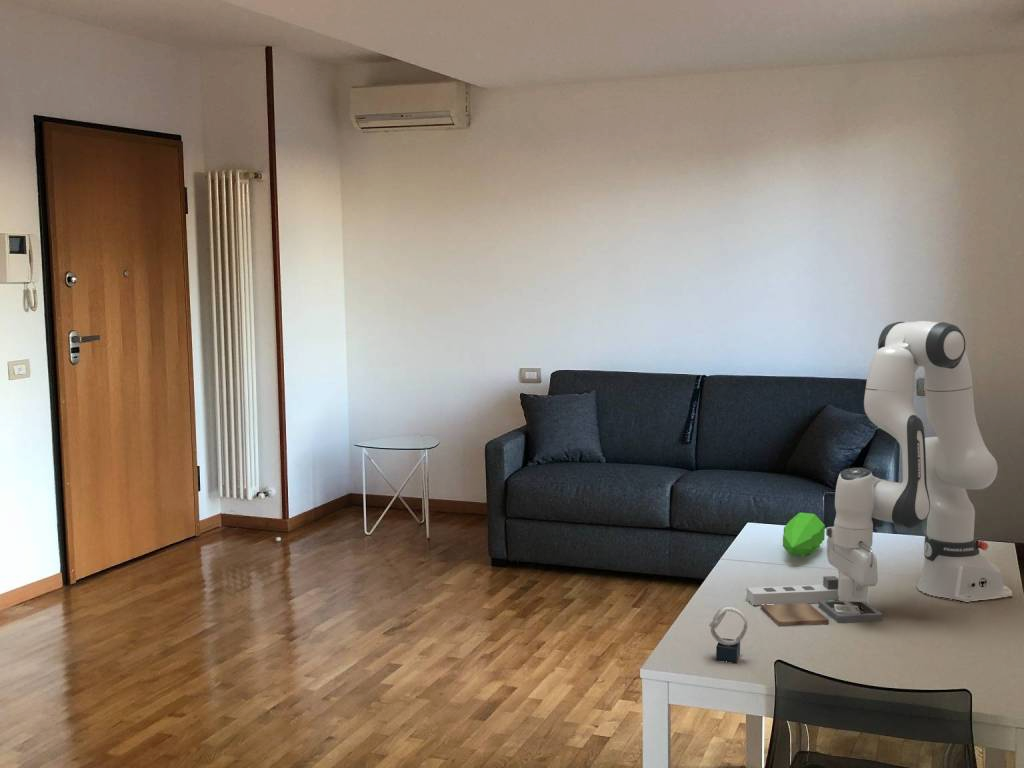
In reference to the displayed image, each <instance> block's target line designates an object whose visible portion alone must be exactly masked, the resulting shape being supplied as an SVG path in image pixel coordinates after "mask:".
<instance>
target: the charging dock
mask: <svg viewBox="0 0 1024 768" xmlns="http://www.w3.org/2000/svg"><path fill="white" fill-rule="evenodd" d="M850 602H851V601H850ZM834 604H839V605H846V604H845V603H844V602H843V601H842V602H840V599H839V600H837V601H834V600H829V601H819V603H818V608H819V609H820V610H822V612H823V613H825V614H827V615H828V616H829V617H830V618H832V619H833V620H834V621H835V622H836V623H856V622H857V621H863V622H879V620H882V621H884V620H883V617H884V616H883V615H884V614H883V613H881V611H878V610H877V609H876V608H875V607H873V606H872V605H870V604H869V602H867V603H865V602H851V604H852V605H855V606H860V607H862V608H863V609H864V610H863V609H862V608H861V609H862V610H863V611H864V612H866V613H860V614H848V615H840V614H839V613H837V612H836V611H835V610H834ZM860 607H859V608H860ZM867 612H868V613H867ZM857 623H858V622H857Z"/></svg>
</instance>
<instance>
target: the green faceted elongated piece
mask: <svg viewBox="0 0 1024 768" xmlns="http://www.w3.org/2000/svg"><path fill="white" fill-rule="evenodd" d="M825 535H826V524H825V523H823V522H822V520H821V519H820V518H819V517H818V516H817V515H816V514H815V513H809V512H799V513H797V514H796V515H795V516H794V517H793V518H790V520H789V521H788V522H787V523H786V525H784V527H783V535H782V547H783V548H784V550H785V551H786V552H787V553H788V555H790V556H794V557H801V558H803V557H805V556H810V555H811V554H813V553H814V552H815V551H816V550H817V549H819V548H820V547H821V544H822V543H823V542H824V541H825Z"/></svg>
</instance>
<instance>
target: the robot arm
mask: <svg viewBox="0 0 1024 768" xmlns="http://www.w3.org/2000/svg"><path fill="white" fill-rule="evenodd" d="M966 346H967V345H966V339H965V336H964V333H963V332H962V330H961V328H960V327H958V326H957V325H955V324H952V323H949V322H945V321H943V322H942V321H941V322H937V321H929V320H918V321H906V322H905V321H896V322H893V323H890V324H887V325H886V326H885V327H884V328H883V329H882V330H881V332H880V334H879V337H878V343H877V350H876V351H875V352H874V354H873V356H872V360H871V362H870V366H869V369H868V374H867V378H866V384H865V389H864V390H865V391H864V397H863V398H864V399H863V408H864V409H863V410H864V413H865V414H866V416H867V418H868V419H869V420H870V422H872V424H874V425H875V426H876V427H877V428H879V429H880V430H883V431H884V432H886V433H888V434H889V435H890V436H892V437H893V438H894V439H895V440H896V441H897V443H898V444H899V446H900V448H901V459H902V460H901V461H902V463H901V465H902V482H896V481H892V480H887V479H884V478H883V479H882V478H880V477H876V476H874V475H873V473H872V471H871V470H869V469H868V468H863V467H848V468H846V469H844V470H842V471H840V472H839V474H838V476H837V477H838V478H837V481H836V486H835V493H834V509H835V512H836V513H835V519H834V522H833V526H828V527H825V535H826V537H827V538H826V539H827V540H826V558H827V561H828V563H829V564H830V565H831V566H833V567H834V568H835V569H837V573H838V574H837V575H839V570H840V571H842V572H843V573H845V574H846V575H847V576H849V577H850V578H851V579H853V580H854V584H855V587H854V590H853V597H854V598H856V599H857V598H861V597H862V591H863V589H864V587H865V586H868V587H876V586H877V584H878V580H879V579H878V571H879V570H878V559H877V556H876V554H875V553H874V552H873V550H872V546H873V537H874V535H873V533H874V531H873V529H874V523H873V520H872V519H876V520H878V521H884V522H887V523H892V524H895V525H898V526H900V527H903V528H907V529H913V528H914V527H917V526H919V525H920V524H922V523H923V522H924V521H927V522H926V534H925V535H924V541H923V543H924V545H923V553H924V554H923V555H924V559H923V560H924V561H923V567H922V571H921V575H920V579H919V582H918V584H917V586H916V587H917V589H918V591H919V592H921V591H922V592H921V593H923V594H925V593H927V594H926V595H928V594H929V596H931V595H933V596H932V597H935V596H938V597H937V598H939V597H945V598H951V599H950V600H952V599H957V600H963V601H971V600H975V599H982V598H988V597H994V596H1002V595H1011V594H1012V595H1013V591H1012V590H1011V589H1010V588H1009V587H1008V586H1007V585H1005V584H1004V580H1003V579H1004V578H1003V575H1002V574H1003V573H1002V572H1001V570H1000V568H999V567H998V566H997V565H995V564H994V562H992V561H990V560H989V559H988V558H986V556H984V555H983V554H981V552H980V550H982V551H987V550H988V549H989V544H988V542H986V541H983V540H979V539H977V538H975V535H974V534H975V518H976V517H975V516H976V510H975V507H974V504H973V503H972V502H971V500H970V498H969V495H968V492H967V490H983V489H986V488H988V487H989V486H991V485H992V484H993V482H994V480H995V479H996V478H997V474H998V470H999V468H998V463H997V460H996V459H995V457H994V456H993V455H992V453H991V452H990V451H989V450H988V447H987V446H986V444H985V441H984V439H983V436H982V434H981V431H980V428H979V425H978V423H977V418H976V413H975V412H976V411H975V403H974V388H973V378H972V377H973V375H972V369H971V366H970V361H969V358H968V354H967V351H966ZM920 367H922V368H923V369H924V396H925V409H926V418H927V420H928V422H929V424H930V426H931V427H932V429H933V430H934V432H935V434H936V436H929V437H926V436H925V435H926V433H925V429H924V428H925V427H924V423H923V421H922V419H921V418H919V417H918V415H917V413H916V409H915V405H914V394H915V381H916V372H917V370H918V369H919V368H920ZM926 519H927V520H926ZM1004 589H1007V590H1009V591H1005V590H1004ZM945 598H944V599H945Z"/></svg>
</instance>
